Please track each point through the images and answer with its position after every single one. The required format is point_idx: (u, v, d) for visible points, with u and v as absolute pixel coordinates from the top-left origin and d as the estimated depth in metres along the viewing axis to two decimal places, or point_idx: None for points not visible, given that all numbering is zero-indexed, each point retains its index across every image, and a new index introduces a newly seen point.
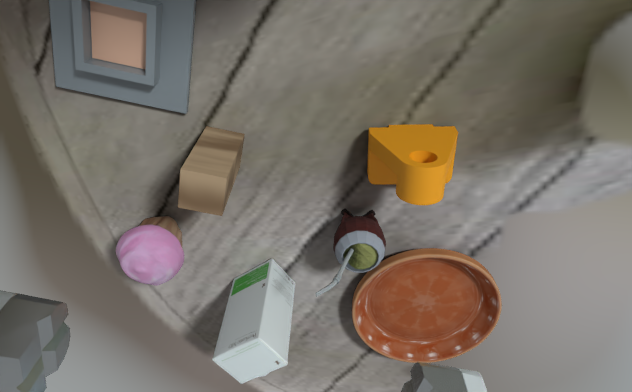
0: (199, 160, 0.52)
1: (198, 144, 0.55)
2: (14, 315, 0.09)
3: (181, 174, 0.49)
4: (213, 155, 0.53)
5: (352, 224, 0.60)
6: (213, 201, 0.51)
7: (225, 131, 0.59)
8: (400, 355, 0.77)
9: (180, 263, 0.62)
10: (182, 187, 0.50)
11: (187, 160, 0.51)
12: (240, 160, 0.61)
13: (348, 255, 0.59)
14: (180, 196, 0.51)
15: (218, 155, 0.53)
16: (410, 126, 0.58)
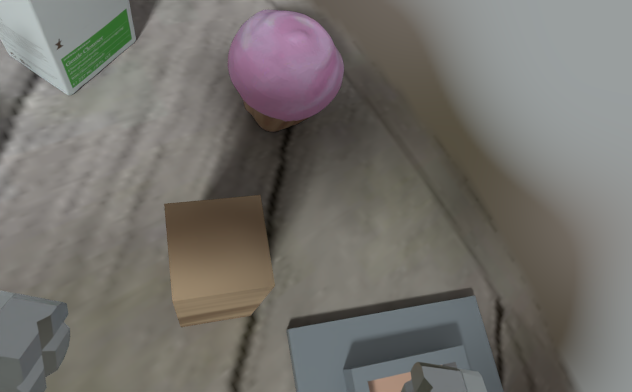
0: (242, 298, 0.25)
1: (254, 305, 0.29)
2: (14, 315, 0.09)
3: (270, 273, 0.23)
4: (220, 306, 0.27)
5: None
6: (188, 232, 0.23)
7: (215, 320, 0.33)
8: None
9: (231, 60, 0.33)
10: (261, 244, 0.24)
11: (265, 293, 0.25)
12: None
13: None
14: (261, 222, 0.24)
15: (211, 308, 0.27)
16: None
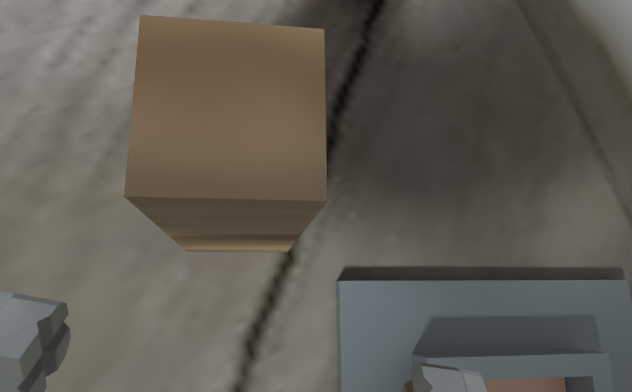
0: (268, 219, 0.14)
1: (291, 236, 0.18)
2: (14, 315, 0.09)
3: (321, 176, 0.12)
4: (233, 228, 0.16)
5: None
6: (178, 73, 0.12)
7: (236, 250, 0.23)
8: None
9: None
10: (313, 118, 0.12)
11: (309, 216, 0.14)
12: None
13: None
14: (318, 79, 0.13)
15: (217, 228, 0.16)
16: None
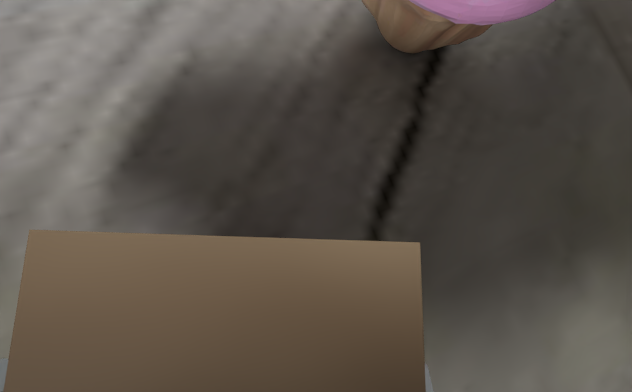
0: None
1: None
2: None
3: None
4: None
5: None
6: (104, 371, 0.05)
7: None
8: None
9: None
10: None
11: None
12: None
13: None
14: (411, 363, 0.06)
15: None
16: None
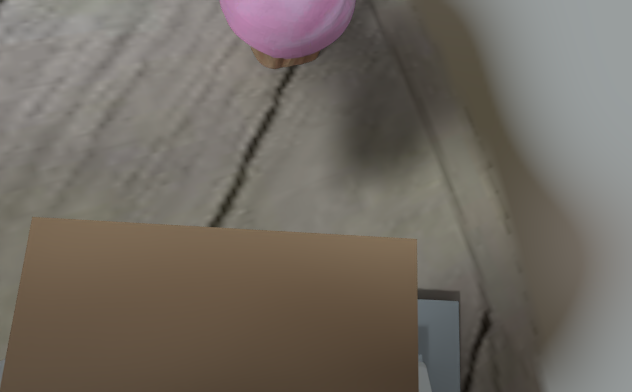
0: None
1: None
2: None
3: None
4: None
5: None
6: (101, 357, 0.05)
7: None
8: None
9: None
10: None
11: None
12: None
13: None
14: (404, 359, 0.06)
15: None
16: None
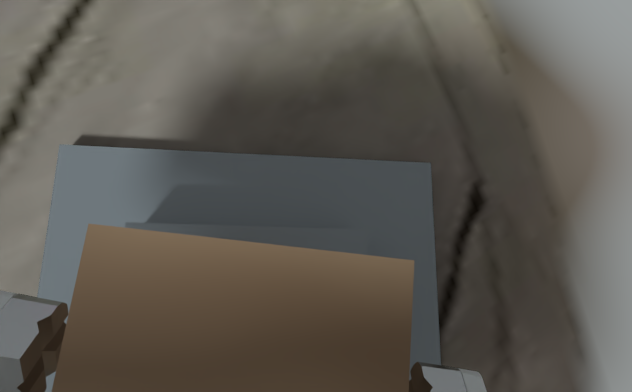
0: None
1: None
2: (14, 315, 0.09)
3: None
4: None
5: None
6: (141, 347, 0.06)
7: None
8: None
9: None
10: None
11: None
12: None
13: None
14: (398, 362, 0.07)
15: None
16: None
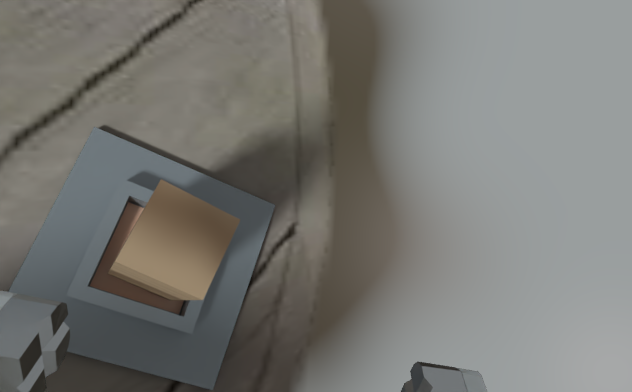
0: (171, 290, 0.27)
1: (177, 298, 0.31)
2: (14, 315, 0.09)
3: (205, 288, 0.25)
4: (150, 284, 0.28)
5: None
6: (165, 214, 0.25)
7: (138, 286, 0.34)
8: None
9: None
10: (214, 259, 0.26)
11: (192, 298, 0.27)
12: None
13: None
14: (226, 242, 0.26)
15: (141, 280, 0.28)
16: None
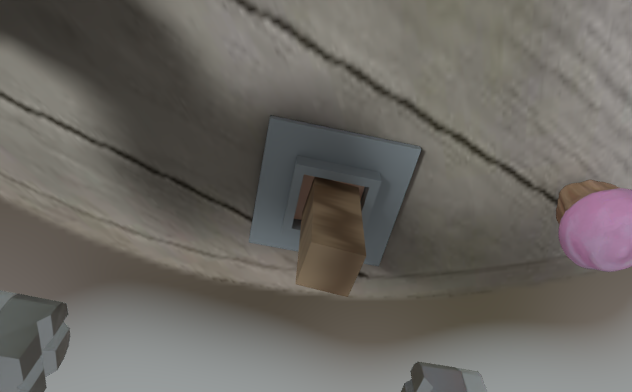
0: (301, 253, 0.43)
1: (300, 239, 0.47)
2: (14, 315, 0.09)
3: (302, 284, 0.42)
4: (305, 233, 0.44)
5: None
6: (344, 260, 0.40)
7: (308, 195, 0.50)
8: None
9: None
10: (320, 287, 0.42)
11: (297, 267, 0.43)
12: (348, 186, 0.50)
13: None
14: (332, 291, 0.42)
15: (307, 228, 0.44)
16: None
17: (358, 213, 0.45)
